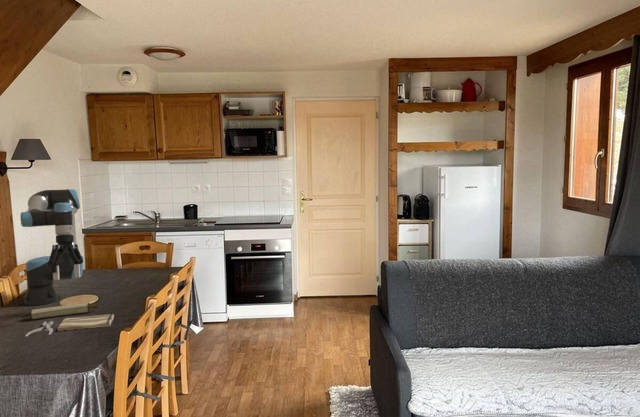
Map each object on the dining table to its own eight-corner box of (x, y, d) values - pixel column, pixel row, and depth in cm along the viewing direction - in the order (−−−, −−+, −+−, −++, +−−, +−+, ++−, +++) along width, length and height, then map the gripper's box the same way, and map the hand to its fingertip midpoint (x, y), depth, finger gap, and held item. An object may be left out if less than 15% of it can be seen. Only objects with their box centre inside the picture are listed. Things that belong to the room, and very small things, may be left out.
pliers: (24, 334, 196) (37, 322, 211) (24, 337, 197) (37, 325, 211) (49, 331, 199) (60, 320, 213) (50, 335, 199) (61, 323, 213)
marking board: (65, 321, 215) (64, 318, 215) (114, 316, 221) (113, 313, 220) (57, 331, 202) (57, 327, 202) (109, 326, 208) (109, 322, 208)
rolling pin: (98, 309, 232) (97, 300, 232) (98, 313, 227) (97, 303, 226) (22, 319, 219) (22, 309, 219) (20, 323, 214) (19, 312, 213)
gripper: (51, 233, 211) (53, 280, 209) (89, 234, 236) (92, 275, 234) (37, 235, 213) (39, 281, 211) (76, 235, 237) (79, 277, 235)
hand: (67, 278), depth 222 cm, fingers open, 13 cm apart
